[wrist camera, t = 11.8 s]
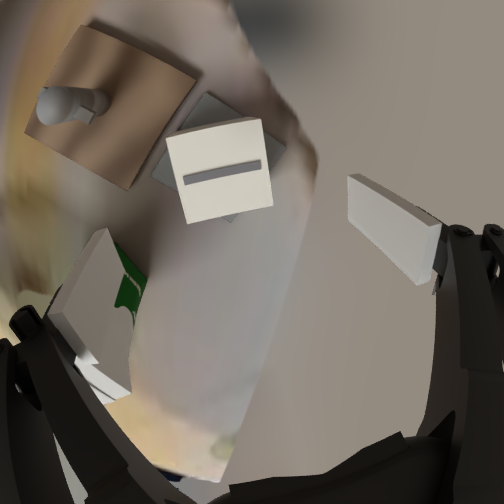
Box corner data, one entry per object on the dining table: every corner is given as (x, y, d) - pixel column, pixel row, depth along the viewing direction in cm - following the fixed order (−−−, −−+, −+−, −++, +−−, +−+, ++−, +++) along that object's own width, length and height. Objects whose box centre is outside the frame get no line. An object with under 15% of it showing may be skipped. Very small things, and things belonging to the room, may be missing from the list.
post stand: (30, 131, 23) (-32, 151, 13) (85, 27, 19) (35, 0, 8) (130, 187, 29) (97, 231, 19) (196, 82, 25) (193, 65, 15)
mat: (151, 175, 29) (150, 176, 29) (205, 92, 26) (205, 92, 25) (230, 221, 34) (230, 223, 33) (285, 147, 30) (286, 148, 30)
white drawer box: (189, 203, 31) (187, 224, 26) (172, 132, 27) (165, 138, 22) (260, 187, 32) (273, 206, 27) (249, 116, 28) (261, 118, 22)
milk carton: (73, 266, 33) (15, 383, 16) (116, 232, 32) (57, 358, 15) (113, 308, 37) (84, 429, 20) (158, 280, 36) (141, 415, 19)
